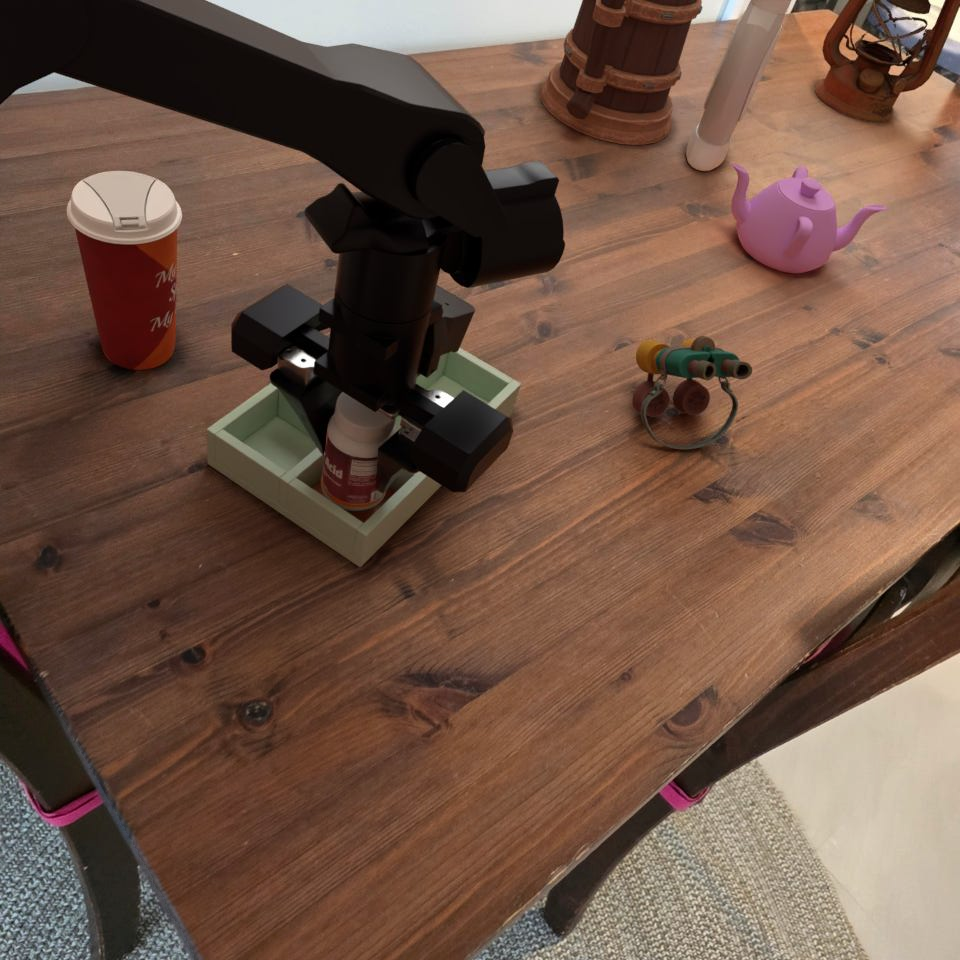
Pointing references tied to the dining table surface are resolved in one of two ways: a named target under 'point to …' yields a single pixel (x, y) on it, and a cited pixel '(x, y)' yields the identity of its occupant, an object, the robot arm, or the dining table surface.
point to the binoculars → (689, 395)
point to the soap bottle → (736, 81)
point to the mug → (621, 69)
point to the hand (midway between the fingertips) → (356, 470)
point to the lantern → (880, 60)
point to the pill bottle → (354, 454)
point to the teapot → (792, 222)
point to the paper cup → (129, 263)
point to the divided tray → (298, 462)
